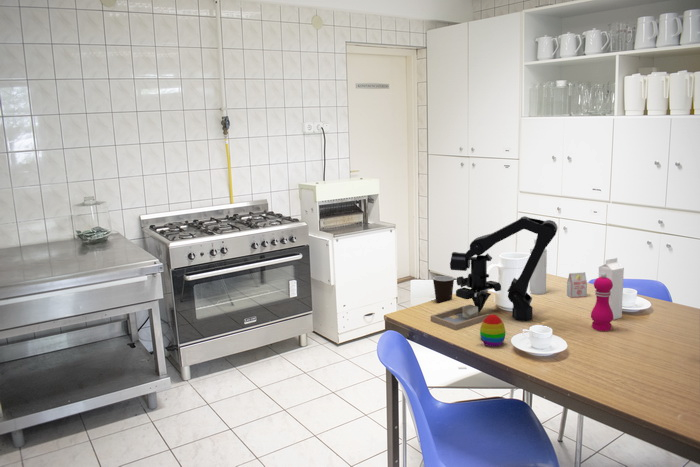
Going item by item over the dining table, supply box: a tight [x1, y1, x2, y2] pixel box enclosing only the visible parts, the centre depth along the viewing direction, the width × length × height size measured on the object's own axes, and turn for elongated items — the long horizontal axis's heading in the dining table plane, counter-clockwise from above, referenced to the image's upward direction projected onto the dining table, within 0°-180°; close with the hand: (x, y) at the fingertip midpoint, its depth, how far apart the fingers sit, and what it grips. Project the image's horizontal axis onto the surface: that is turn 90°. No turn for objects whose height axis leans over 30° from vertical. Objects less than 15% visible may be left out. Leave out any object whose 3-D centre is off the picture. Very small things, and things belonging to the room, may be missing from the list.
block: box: [463, 304, 479, 319], centre depth 214 cm, size 4×4×4 cm
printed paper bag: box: [566, 272, 588, 299], centre depth 238 cm, size 4×7×10 cm, turn 97°
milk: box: [598, 257, 625, 321], centre depth 210 cm, size 6×6×22 cm
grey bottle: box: [529, 237, 548, 296], centre depth 244 cm, size 7×7×25 cm
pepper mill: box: [590, 273, 614, 332], centre depth 199 cm, size 7×7×20 cm
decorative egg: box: [479, 314, 506, 347], centre depth 191 cm, size 8×8×10 cm
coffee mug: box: [432, 275, 455, 304], centre depth 239 cm, size 12×9×10 cm
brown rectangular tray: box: [430, 306, 490, 331], centre depth 211 cm, size 13×17×4 cm
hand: (478, 311), depth 216 cm, fingers closed
